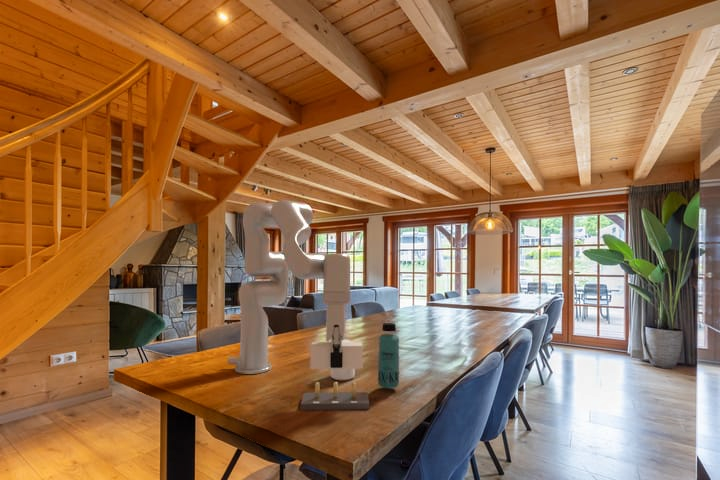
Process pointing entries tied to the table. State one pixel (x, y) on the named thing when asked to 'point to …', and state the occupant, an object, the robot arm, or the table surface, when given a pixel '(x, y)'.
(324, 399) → the header
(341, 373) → the beverage can
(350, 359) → the white rectangular block
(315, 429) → the table surface
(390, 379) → the beverage bottle
